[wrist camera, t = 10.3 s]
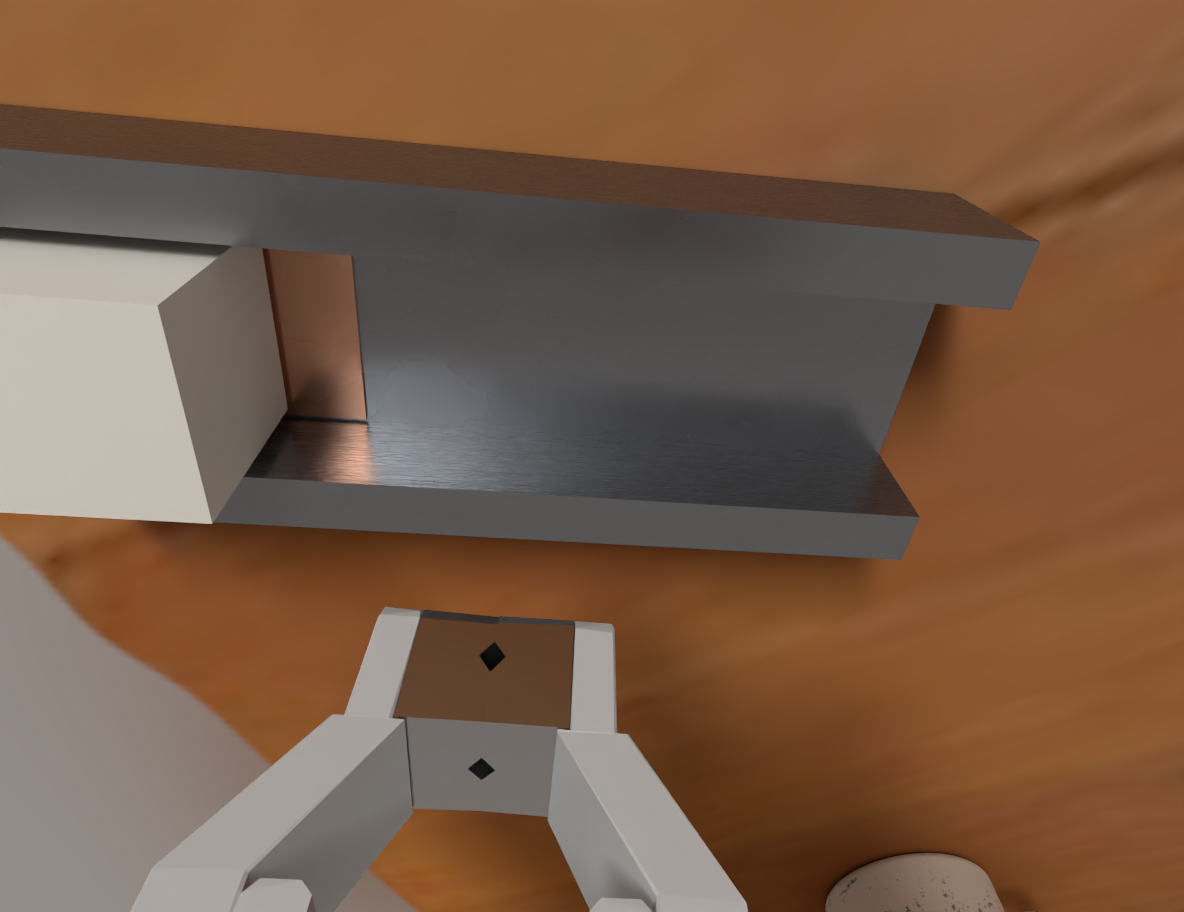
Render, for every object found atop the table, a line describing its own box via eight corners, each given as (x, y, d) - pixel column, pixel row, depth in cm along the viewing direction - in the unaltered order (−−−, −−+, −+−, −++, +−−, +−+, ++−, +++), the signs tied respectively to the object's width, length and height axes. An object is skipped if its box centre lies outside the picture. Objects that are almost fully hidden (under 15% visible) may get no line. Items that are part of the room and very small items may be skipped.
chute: (954, 193, 18) (1040, 241, 15) (853, 476, 23) (901, 559, 20) (-46, 99, 16) (-203, 129, 13) (70, 426, 21) (-22, 509, 18)
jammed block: (258, 225, 17) (157, 305, 13) (287, 408, 20) (212, 523, 16) (35, 206, 17) (-144, 282, 12) (97, 396, 19) (-32, 510, 15)
